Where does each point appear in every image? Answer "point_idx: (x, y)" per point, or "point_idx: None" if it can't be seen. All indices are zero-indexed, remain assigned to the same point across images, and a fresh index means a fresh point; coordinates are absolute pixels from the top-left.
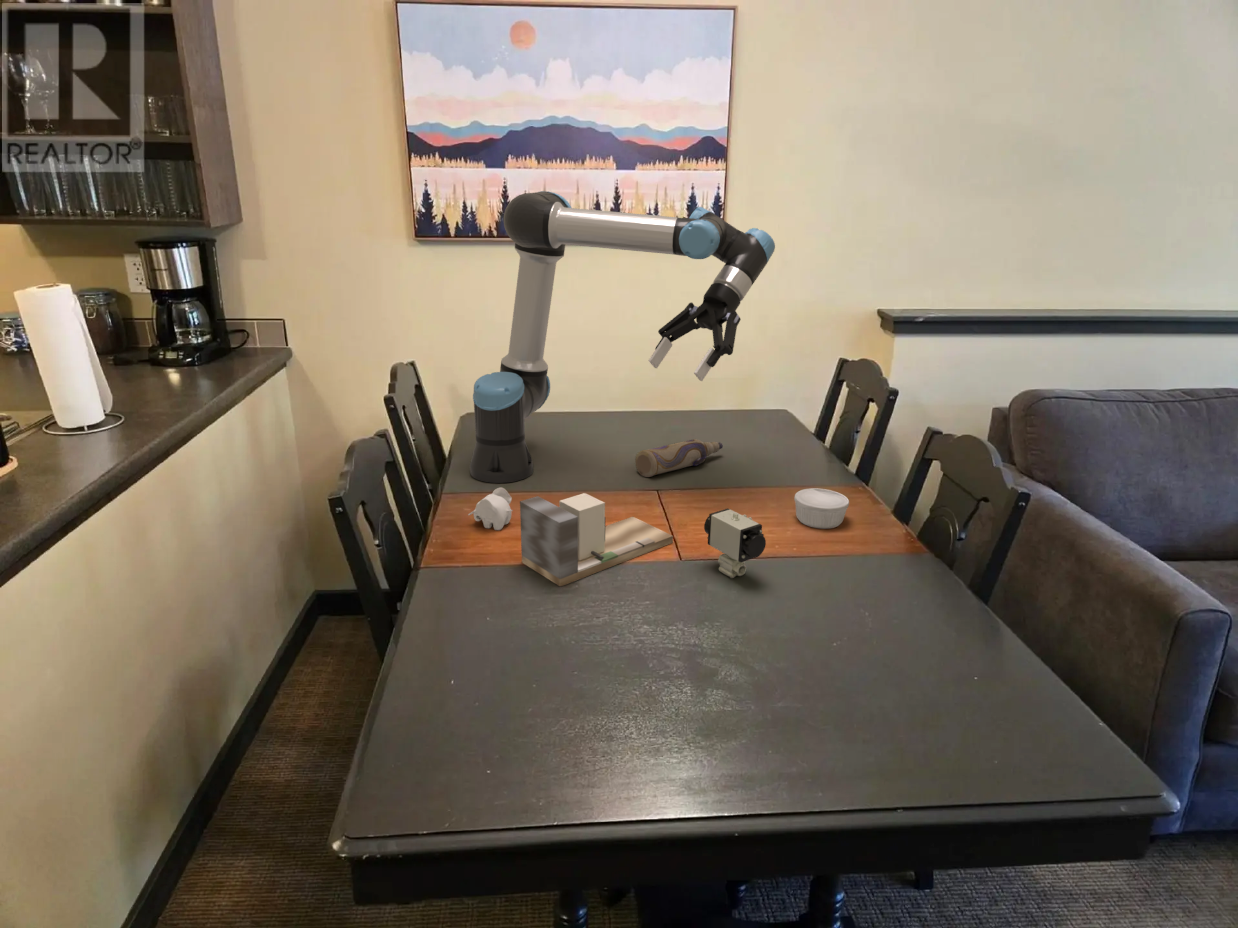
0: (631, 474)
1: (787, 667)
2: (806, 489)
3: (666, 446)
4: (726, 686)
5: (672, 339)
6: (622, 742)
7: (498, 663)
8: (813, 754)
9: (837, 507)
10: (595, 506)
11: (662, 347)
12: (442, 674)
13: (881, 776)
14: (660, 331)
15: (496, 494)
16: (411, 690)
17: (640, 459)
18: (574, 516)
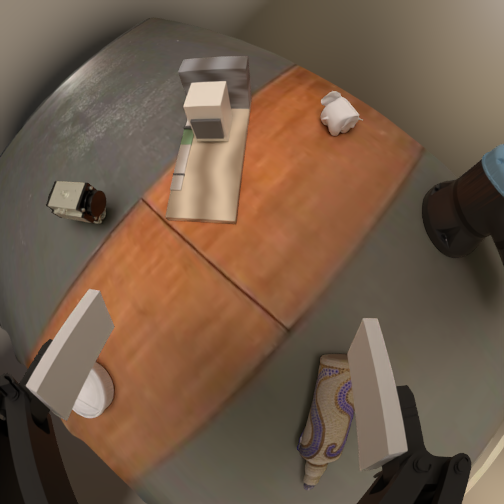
0: None
1: (45, 157)
2: (101, 404)
3: (340, 406)
4: (66, 123)
5: (375, 487)
6: (94, 75)
7: (169, 54)
8: (34, 128)
9: None
10: (186, 97)
11: (375, 406)
12: (186, 39)
13: (18, 141)
14: (457, 463)
15: (355, 119)
16: (188, 31)
17: None
18: (180, 70)
